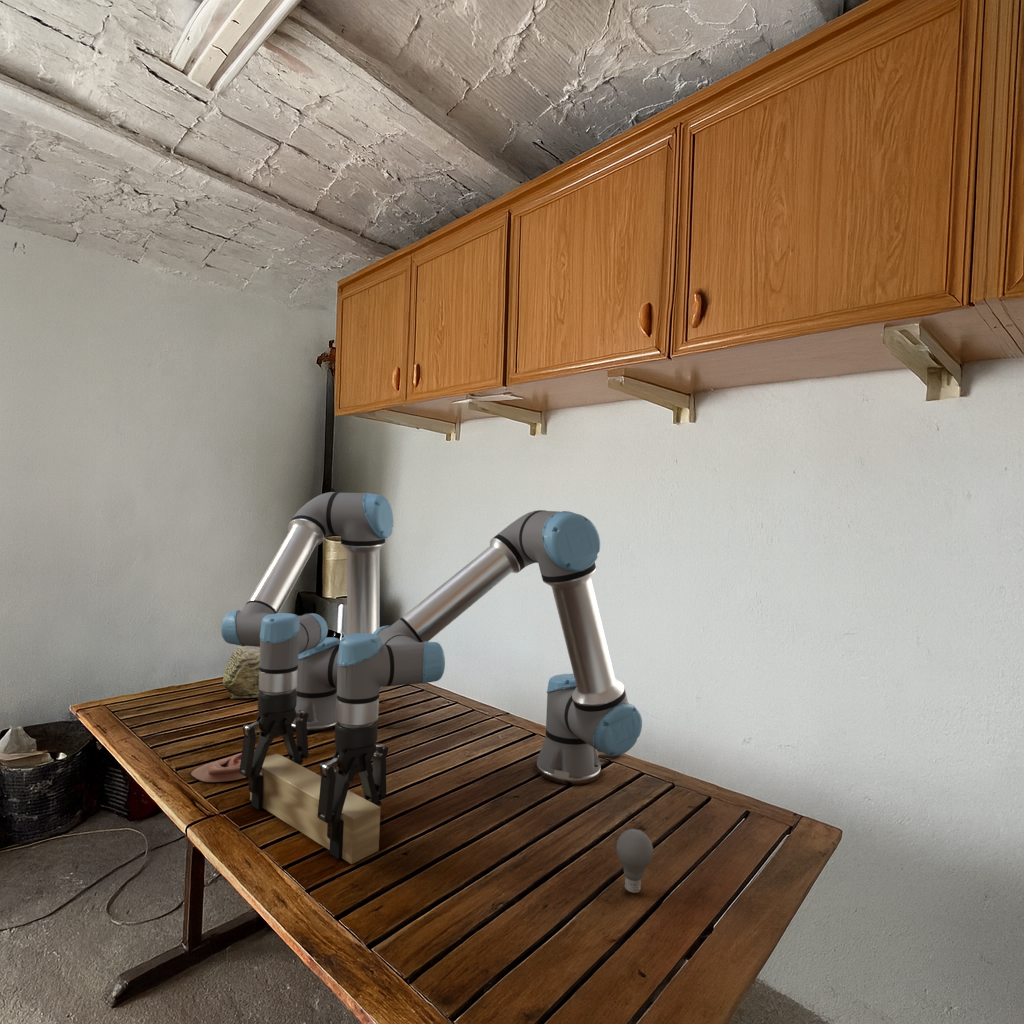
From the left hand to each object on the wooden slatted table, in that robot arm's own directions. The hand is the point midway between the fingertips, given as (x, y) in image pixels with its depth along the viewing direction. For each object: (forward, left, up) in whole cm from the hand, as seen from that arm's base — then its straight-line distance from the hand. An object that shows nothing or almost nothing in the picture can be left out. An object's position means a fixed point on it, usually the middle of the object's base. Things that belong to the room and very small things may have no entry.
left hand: (273, 800), depth 131 cm
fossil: (-33, -67, 0) cm, 74 cm away
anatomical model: (0, -20, 0) cm, 20 cm away
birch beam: (0, +13, 0) cm, 13 cm away
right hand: (0, +26, 0) cm, 26 cm away
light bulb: (-24, +70, 0) cm, 74 cm away
